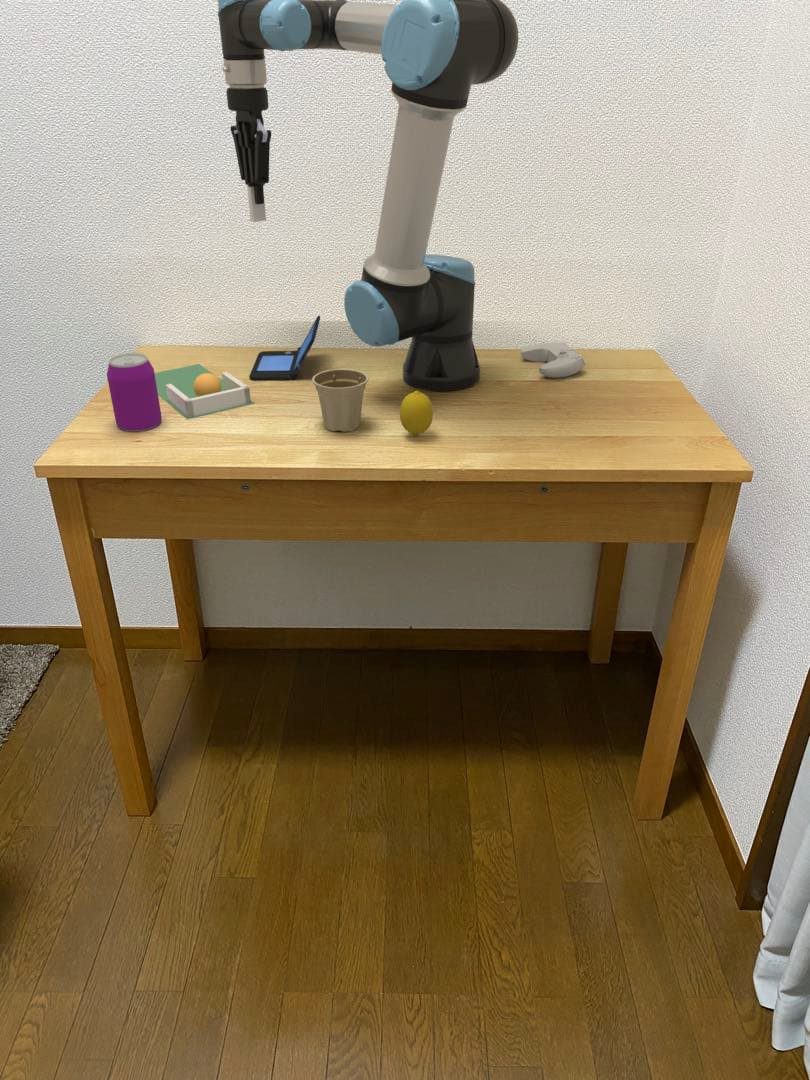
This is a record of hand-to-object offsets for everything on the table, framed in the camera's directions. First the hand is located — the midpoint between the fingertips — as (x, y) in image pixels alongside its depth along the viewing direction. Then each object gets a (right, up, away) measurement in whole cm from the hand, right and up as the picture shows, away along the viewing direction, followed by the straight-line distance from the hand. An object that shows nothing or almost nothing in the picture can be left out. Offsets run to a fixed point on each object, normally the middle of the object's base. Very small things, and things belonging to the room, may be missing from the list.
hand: (258, 220), depth 169 cm
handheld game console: (+5, -29, +4) cm, 30 cm away
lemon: (+31, -46, -25) cm, 61 cm away
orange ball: (-7, -36, -13) cm, 39 cm away
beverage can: (-17, -44, -21) cm, 52 cm away
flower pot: (+18, -44, -21) cm, 52 cm away
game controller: (+59, -29, +4) cm, 66 cm away
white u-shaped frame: (-7, -38, -13) cm, 41 cm away
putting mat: (-11, -35, -7) cm, 38 cm away
